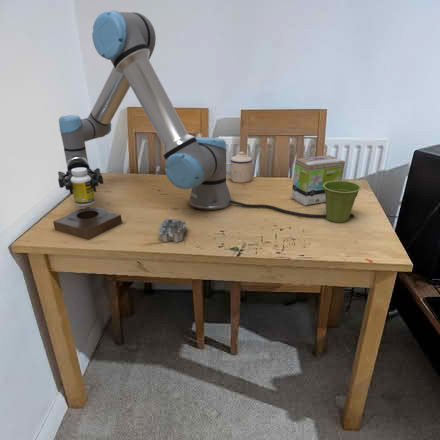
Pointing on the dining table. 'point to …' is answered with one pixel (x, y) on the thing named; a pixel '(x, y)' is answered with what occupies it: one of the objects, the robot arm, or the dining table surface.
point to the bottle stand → (87, 222)
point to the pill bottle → (82, 187)
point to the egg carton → (172, 230)
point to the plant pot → (340, 199)
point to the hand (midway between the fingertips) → (82, 188)
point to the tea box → (315, 177)
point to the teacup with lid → (240, 168)
